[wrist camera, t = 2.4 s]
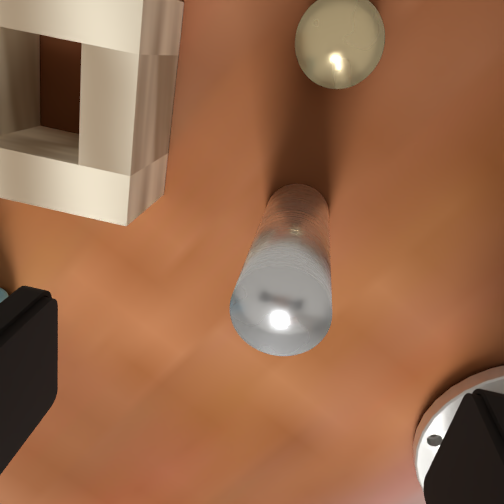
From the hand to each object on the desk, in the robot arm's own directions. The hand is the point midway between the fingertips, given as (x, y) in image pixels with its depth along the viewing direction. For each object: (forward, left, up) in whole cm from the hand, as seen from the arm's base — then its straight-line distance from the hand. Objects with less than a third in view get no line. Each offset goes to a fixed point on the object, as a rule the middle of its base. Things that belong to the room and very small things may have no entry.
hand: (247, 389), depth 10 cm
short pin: (0, -8, -14) cm, 16 cm away
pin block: (+11, -4, -14) cm, 18 cm away
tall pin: (0, 0, -14) cm, 14 cm away
